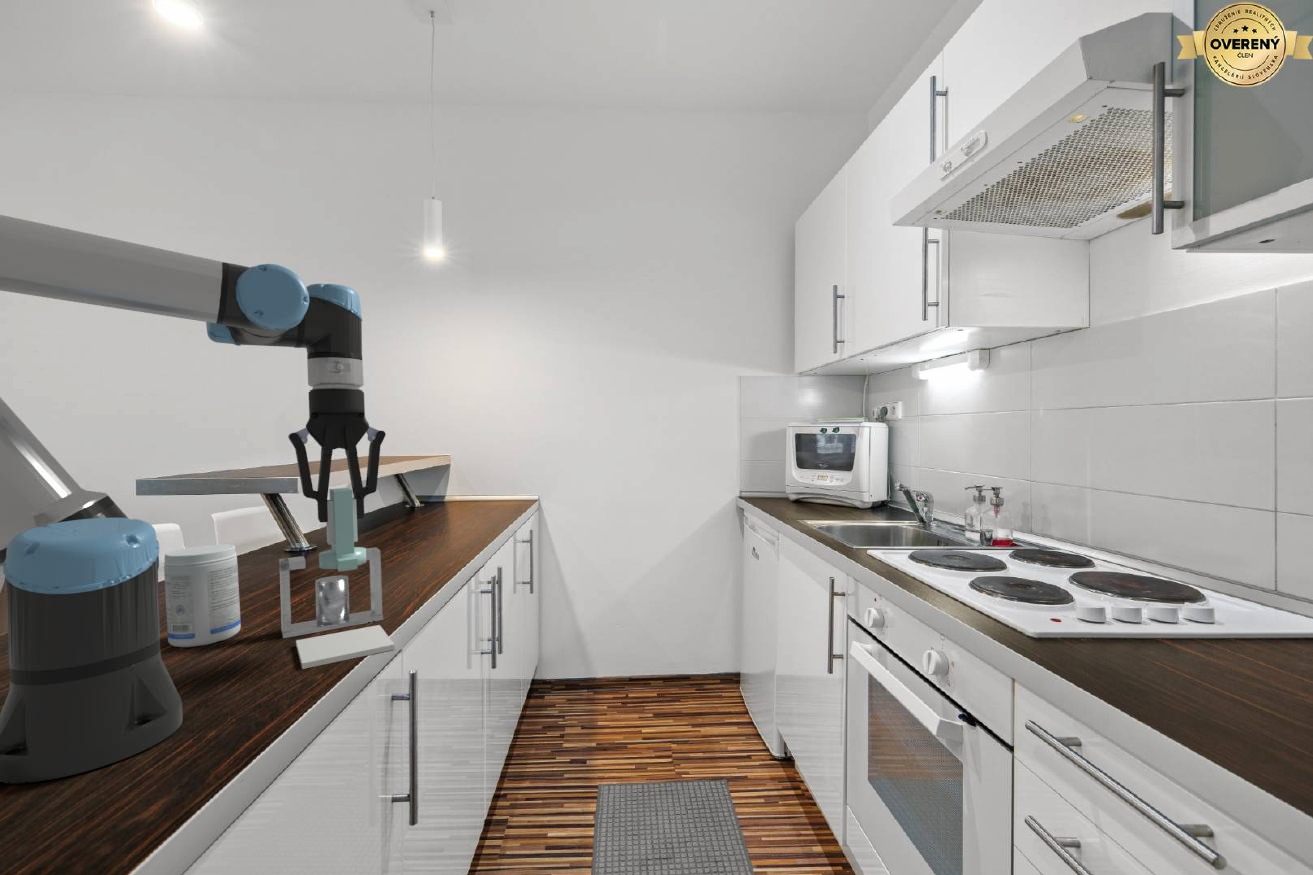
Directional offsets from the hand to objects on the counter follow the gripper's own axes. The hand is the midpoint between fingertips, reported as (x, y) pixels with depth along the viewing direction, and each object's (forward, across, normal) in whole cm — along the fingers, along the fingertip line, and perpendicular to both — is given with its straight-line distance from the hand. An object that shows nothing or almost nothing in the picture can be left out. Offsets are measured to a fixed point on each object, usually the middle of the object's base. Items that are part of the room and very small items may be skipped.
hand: (342, 541), depth 92 cm
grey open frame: (+16, 0, +14) cm, 21 cm away
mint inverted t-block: (+4, 0, 0) cm, 4 cm away
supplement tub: (+16, -18, +20) cm, 32 cm away
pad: (+16, 0, 0) cm, 16 cm away
